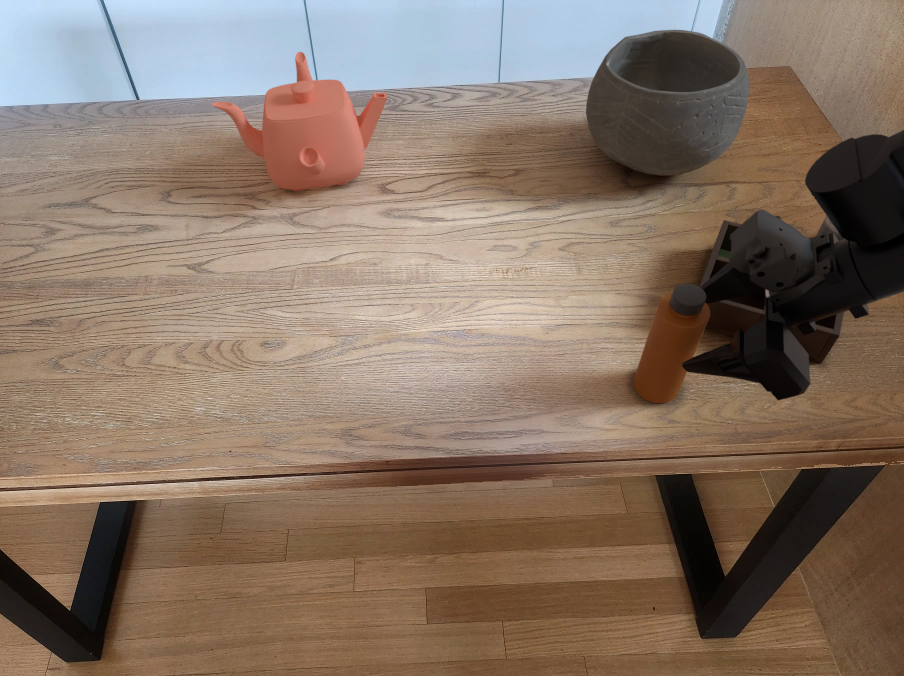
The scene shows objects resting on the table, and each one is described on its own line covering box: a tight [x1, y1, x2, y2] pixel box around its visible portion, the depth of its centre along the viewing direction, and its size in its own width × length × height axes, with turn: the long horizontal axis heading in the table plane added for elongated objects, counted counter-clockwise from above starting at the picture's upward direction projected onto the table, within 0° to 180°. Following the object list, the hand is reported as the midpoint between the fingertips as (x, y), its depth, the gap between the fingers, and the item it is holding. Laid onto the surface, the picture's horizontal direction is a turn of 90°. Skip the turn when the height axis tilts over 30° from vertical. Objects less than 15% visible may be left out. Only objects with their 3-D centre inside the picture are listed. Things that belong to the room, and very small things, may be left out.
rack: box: [698, 219, 845, 364], centre depth 78 cm, size 15×15×5 cm
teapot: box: [211, 51, 388, 192], centre depth 98 cm, size 18×18×14 cm
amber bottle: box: [632, 283, 710, 404], centre depth 68 cm, size 5×5×14 cm
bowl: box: [585, 29, 750, 176], centre depth 94 cm, size 21×21×15 cm
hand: (687, 333), depth 66 cm, fingers open, 9 cm apart
